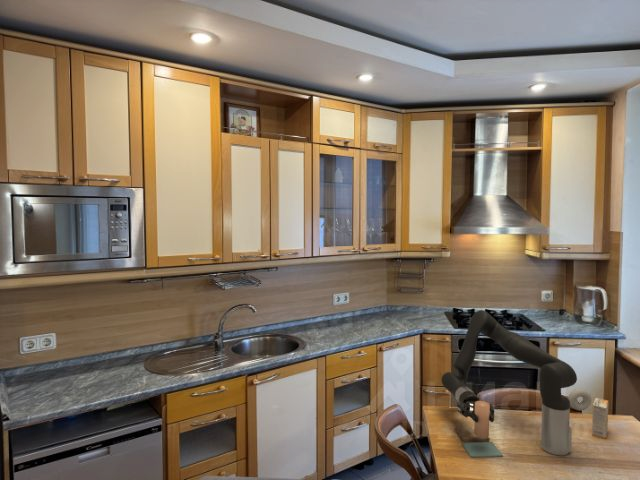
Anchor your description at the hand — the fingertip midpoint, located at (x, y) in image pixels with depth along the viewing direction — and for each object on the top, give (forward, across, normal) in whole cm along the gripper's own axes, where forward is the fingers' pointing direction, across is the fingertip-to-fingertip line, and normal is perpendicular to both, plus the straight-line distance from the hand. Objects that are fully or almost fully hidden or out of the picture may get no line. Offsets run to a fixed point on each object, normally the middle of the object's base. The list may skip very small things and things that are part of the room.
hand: (484, 420), depth 156 cm
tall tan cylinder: (-3, 0, +7) cm, 7 cm away
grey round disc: (-32, +58, +14) cm, 68 cm away
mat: (-2, 0, +13) cm, 13 cm away
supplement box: (-12, +53, +13) cm, 56 cm away
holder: (-13, 0, +13) cm, 18 cm away
